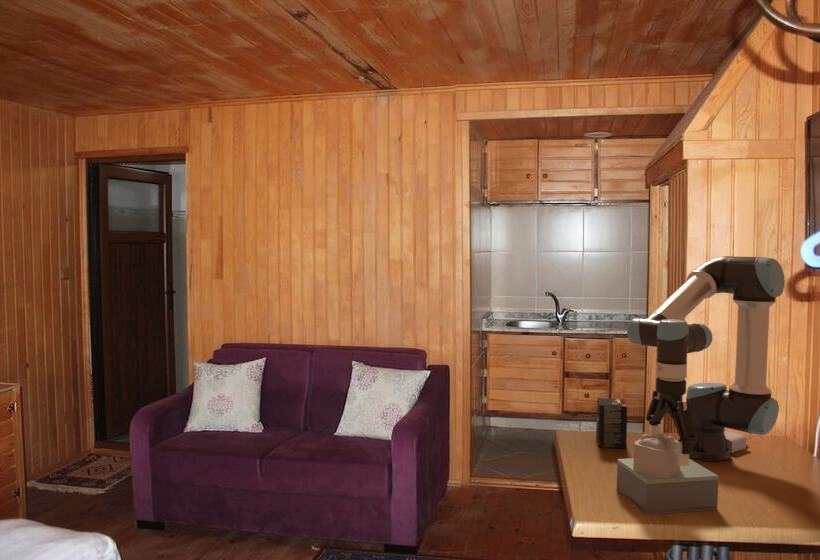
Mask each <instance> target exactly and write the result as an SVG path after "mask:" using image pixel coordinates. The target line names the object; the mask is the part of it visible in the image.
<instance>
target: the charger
mask: <svg viewBox="0 0 820 560" xmlns="http://www.w3.org/2000/svg"><path fill="white" fill-rule="evenodd" d="M724 433H725V437H726V440H727V443H728V446H729V450H730V455H731V454H733V453H736V452H739V451H743V450H745V449H746V448H747V441H748V438H747V437H746V436H745V435H743V434H740V433H735V432H732V431H727V430H724Z"/></svg>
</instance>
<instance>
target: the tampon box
mask: <svg viewBox="0 0 820 560" xmlns="http://www.w3.org/2000/svg"><path fill="white" fill-rule="evenodd" d="M627 423H628V407H627V404H626V402H625V399H623V398H619V399H618V398H603V397H597V401H596V430H595V433H596V435H595V438H596V439H595V440H596V443H597V446H598V447H599V448H604V449H605V448H606V449H618V448H619V449H621V450H627V441H628V440H627V437H628V435H627V431H628V429H627V428H628V424H627Z"/></svg>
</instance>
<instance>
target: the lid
mask: <svg viewBox="0 0 820 560" xmlns="http://www.w3.org/2000/svg"><path fill="white" fill-rule="evenodd" d="M633 461H634V457H632V458H631V457H630V458H629V457H628V458H617V463H619V464H620V465H621V466H623V467H624V468H625V469H627V470H628V471H630V472H631V473H632V474H634V475H635V476H637V477H638V478H639V479H641V480H642V481H643V482H645V483H646V484H656V483H672V482H688V481H704V480H718V481H719V475H718V474H716V473H714V472H713V471H711V470H709V469H707V468H706V467H704V466H702V465H701V464H699V463H697V462H695V460H693V459H692V458H689V466H680V473H679V474H677V475H675V476H673V477H670V478H655V477H652V476H649V475H646V474H642V473H638V472H636V471H634V470H633Z"/></svg>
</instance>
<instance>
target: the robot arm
mask: <svg viewBox="0 0 820 560" xmlns="http://www.w3.org/2000/svg"><path fill="white" fill-rule="evenodd" d="M781 265H782V264H780V262H779V261H778V260H776V259H775V258H773V257H767V256H766V257H763V256H732V255H731V256H730V255H725V256H720V257H719V256H718V257H716V258H713V259H711V260H708V261H706V262H705V263H702V264H700V265H698V266H697V267H696V268H695V269H693V270H692V271H691V272H690V273H688V275H687V277H686V281H685V282H684V283H682V285H681V286H680V287H678V288H677V289H676V290H675V291H674V292H673V293H672V294H670V296H668V298H666V299H665V300H664V301H663V302H662V303H661V304H659V306H657V307H656V308H655V309H654V310H652V312H651V313H650V314H648V316H647V317H645V318H642V317H641V318H633V319H632V320H630V321H629V323H628V325H627V329H626V331H627V332H626V334H627V337H628V338H627V339H628V341H629V342H630V343H632V344H634V345H635V344H636V345H639V346H643V347H644V346H645V347H653V348H656V367H655V370H656V373H655V375H656V376H657V377H656V378H655V390H652V395H651V396H652V398H651V401H650V403H649V406H648V410H647V413H646V416H645V421H648V423H649V425H650V433H649V435H650V436H652V437H654V436H656V435H658V434H662V420H663V418H664V417H665V415H666V414H668V415H669V416H670V418H671V419H672V420H673V423H674V426H675V428H676V431H677V433H678V434H677V435H678V436H679V439H677V441H678V463H677V465H678V466H689V459H692V460H698V461H703V462H723V461H727V460H729V459H730V455H731V454H730V450H729V446H728V443H727V440H726V437H725V433H724V431H726V430H725V428H726V429H730V430H735V431H739V432H744V433H748V434H749V435H757V436H758V435H759V436H765V435H767V434H769V433H770V432H771V431H772V430H773V428H774V427H775V424H776V423H777V420H778V416H779V409H780V405H779V402H778V400H776V399H775V397H773V398H772V389H770V388H769V387H768V386H767V371H768V348H769V347H768V346H769V327H770V326H769V325H770V308H771V307H772V306H773V305H774V304H775V303H776V298H778V297H780V296H781V295H782V294H783V293H784V289H785V286H786V285H785V282H786V281H785V273H784V270H783V267H782V266H781ZM715 294H716V295H717V294H732V295H733V296H732V301H733V302H734V303H735V304H736V305H737V323H736V324H737V325H736V330H737V331H736V346H735V347H736V349H735V369H734V370H735V375H734V376H735V377H734V383H732V384H731V385H730V386H728V387H729V388H727V385H726V384H725V383H719V382H701V383H700V382H699V383H695V384H694V383H693V384H691V385H689V386H688V387H687V381H686V379H687V378H688V377H687V375H688V373H687V372H688V369H687V368H688V354H692V353H699V352H702V351H704V350H707V349H708V348H709V347H710V346H711V345H712V342H713V333H712V331H711V329H710V328H709V327H708V326H707V325H706V324H704V323H688V322H687V321H686V320H684V319H685V318H687V316H689V315H690V313H692V312H693V310H695V309H696V308H697V307H698V306H699V305H700V304H701V303H702V302H703V301H704V300H705V299H709V298H712V297H713V296H715ZM727 389H728V390H727ZM685 394H686V397H685V401H683V400H682V396H683V395H685Z"/></svg>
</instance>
